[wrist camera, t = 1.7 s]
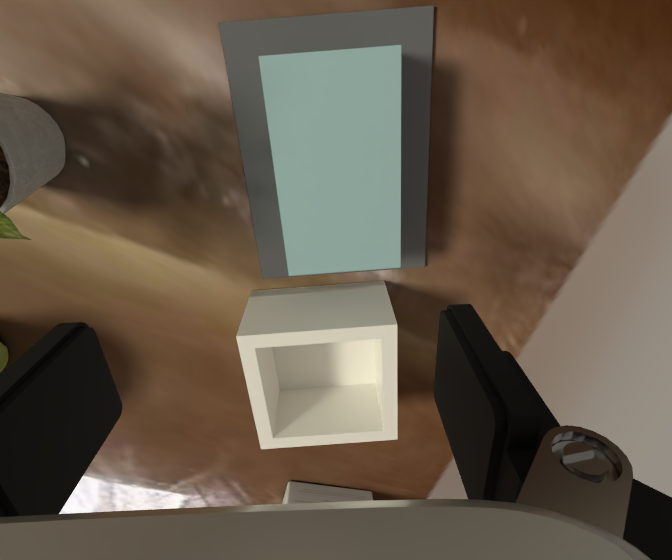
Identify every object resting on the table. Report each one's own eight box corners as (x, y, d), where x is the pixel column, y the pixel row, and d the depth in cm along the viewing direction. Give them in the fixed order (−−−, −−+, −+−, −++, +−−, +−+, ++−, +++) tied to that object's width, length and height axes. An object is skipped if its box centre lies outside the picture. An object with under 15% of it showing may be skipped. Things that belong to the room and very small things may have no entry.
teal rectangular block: (268, 60, 23) (258, 56, 19) (389, 50, 23) (401, 45, 19) (293, 251, 28) (288, 275, 25) (390, 244, 28) (400, 267, 25)
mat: (219, 23, 22) (218, 22, 22) (432, 6, 22) (433, 5, 22) (263, 277, 29) (262, 278, 29) (424, 265, 29) (424, 266, 29)
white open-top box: (251, 290, 30) (236, 336, 24) (384, 280, 30) (397, 324, 24) (270, 391, 34) (261, 449, 29) (385, 383, 34) (397, 439, 29)
